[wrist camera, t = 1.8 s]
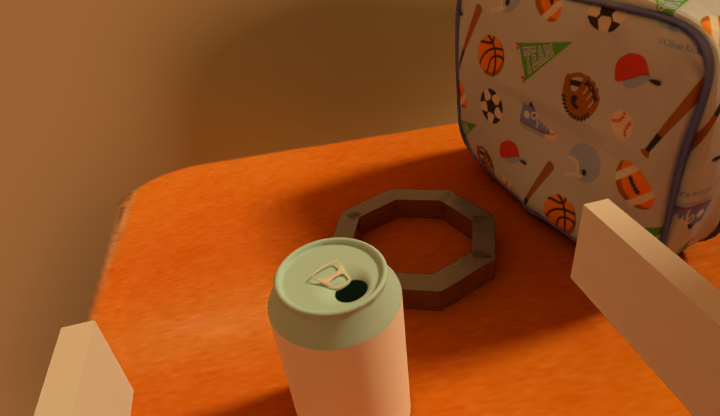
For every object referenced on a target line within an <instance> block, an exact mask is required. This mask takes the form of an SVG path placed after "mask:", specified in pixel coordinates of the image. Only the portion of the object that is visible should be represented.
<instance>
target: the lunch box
mask: <svg viewBox="0 0 720 416" xmlns="http://www.w3.org/2000/svg"><path fill="white" fill-rule="evenodd" d="M455 24H456V25H455V53H456V56H455V58H456V82H457V83H456V84H457V109H458V123H459V128H460V132H461V136H462V139H463V141H464V143H465V145H466V147H467V148H468V150H469V151H470V152H471V154H472V155H473V156H474V157H475V158H476V159H477V160H478V161H479V162H480V163H481V164H482V165H483V166H484V167H485V169H486V170H487V171H488V172H489V173H490V174H491V175H492V176H493V177H494V178H495V179H496V180H497V181H498V182H499V183H500V184H501V185H503V186H504V187H505V188H506V189H507V190H508V191H509V192H510V193H511V194H512V195H513V196H514V197H516V198H517V199H518V200H519V201H520V202H521V204H522V206H523V207H524V208H525V209H526V210H527V211H529V212H530V213H531V214H533V215H535V216H537V217H539V218H541V219H543V220H544V221H546V222H548V223H549V224H550V225H552V226H553V227H555V228H556V229H558V230H559V231H561V232H562V233H563V234H565V235H566V236H567V237H569V238H570V239H572V240H573V241H574V242H576V243H577V238H578V232H579V227H580V221H581V216H582V210H583V205H584V204H587V203H591V202H596V201H600V200H604V199H609V200H610V201H612V202H613V203H614V204H615V205H617V206H618V207H619V208H620V209H621V210H623V211H624V212H625V213H626V214H628V215H629V216H630V217H631V218H632V219H634V220H635V221H636V222H637V223H638V224H640V225H641V226H642V227H643V228H645V229H646V230H647V231H648V232H649V233H651V234H652V235H653V236H654V237H656V238H657V239H658V240H659V241H660V242H662V243H663V244H664V245H665V246H667V247H668V248H669V249H670V250H671V251H673V252H674V253H675V254H676V255H677V254H679V253H680V252H682V251H683V250H684V249H686V248H688V247H690V246H691V245H693V244H695V243H696V242H701V241H706V240H708V239H711V238H713V237H715V236H716V235H718V234H719V233H720V0H457V6H456V21H455Z"/></svg>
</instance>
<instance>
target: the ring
mask: <svg viewBox="0 0 720 416" xmlns="http://www.w3.org/2000/svg"><path fill="white" fill-rule="evenodd" d="M396 217H424V218H442V219H443V220H445V221H446V222H448V223H449V224H451V225H452V226H454V227H455V228H457V229H458V230H460V231H461V232H463V233H464V234H466V235H467V236H469V237H470V238H472V252H470V253H468V254H467V255H465V256H463V257H462V258H460V259H458V260H456V261H455V262H453V263H451V264H449V265H448V266H446V267H444V268H443V269H441V270H439V271H437V272H436V273H434V274H416V273H398V272H394V273H395V274H396V276H397V278H398V280H399V282H400V284H401V288H402V298H403V308H409V309H424V310H439V311H441V310H443V309H444V308H446V307H448V306H449V305H451V304H453V303H454V302H456V301H457V300H459V299H461V298H462V297H464V296H465V295H467V294H469V293H470V292H472V291H473V290H475V289H477V288H478V287H480V286H482V285H483V284H485V283H486V282H488V281H490V280H491V279H493V278H494V274H495V228H494V216H493V215H491V214H490V213H488V212H486V211H485V210H483V209H481V208H480V207H478V206H476V205H475V204H473V203H471V202H469V201H468V200H466V199H464V198H463V197H461V196H459V195H458V194H456V193H454V192H452V191H451V190H428V189H389V190H387V191H385V192H383V193H381V194H379V195H376V196H374V197H372V198H370V199H368V200H366V201H364V202H361V203H359V204H357V205H355V206H353V207H351V208H349V209H346V210H344V211H342V213H341V216H340V218H339V221H338V224H337V226H336V229H335V232H334V235H333V237H332V238H335V237H342V238H352V239H357V240H360V238H361V235H362V234H364V233H366V232H368V231H370V230H372V229H374V228H376V227H378V226H380V225H382V224H384V223H386V222H388V221H390V220H392V219H394V218H396Z"/></svg>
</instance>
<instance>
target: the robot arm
mask: <svg viewBox="0 0 720 416" xmlns="http://www.w3.org/2000/svg"><path fill="white" fill-rule="evenodd" d="M570 278H571V279H572V280H573V281H574V282H575V283H576V285H577V286H578V287H579V288H580V289H581V290H582V291H583V292H584V294H585V295H586V296H587V297H588V298H589V299H590V300H591V301H592V303H593V304H594V305H595V306H596V307H597V308H598V309H599V310H600V312H601V313H602V314H603V315H604V316H605V317H606V318H607V319H608V321H609V322H610V323H611V324H612V325H613V326H614V327H615V328H616V329H617V331H618V332H619V333H620V334H621V335H622V336H623V337H624V338H625V340H626V341H627V342H628V343H629V344H630V345H631V346H632V347H633V349H634V350H635V351H636V352H637V353H638V354H639V355H640V356H641V358H642V359H643V360H644V361H645V362H646V363H647V364H648V365H649V367H650V368H651V369H652V370H653V371H654V372H655V373H656V374H657V376H658V377H659V378H660V379H661V380H662V381H663V382H664V383H665V385H666V386H667V387H668V388H669V389H670V390H671V391H672V392H673V394H674V395H675V396H676V397H677V398H678V399H679V400H680V401H681V402H682V404H683V405H684V406H685V407H686V408H687V409H688V410H689V411H690V413H691V414H692V415H693V416H720V290H719V289H718V288H716V287H715V286H714V285H713V284H712V283H710V282H709V281H708V280H707V279H705V278H704V277H703V276H702V275H701V274H699V273H698V272H697V271H696V270H695V269H693V268H692V267H691V266H690V265H688V264H687V263H686V262H685V261H684V260H682V259H681V258H680V257H679V256H677V255H676V254H675V253H674V252H673V251H671V250H670V249H669V248H668V247H667V246H665V245H664V244H663V243H662V242H660V241H659V240H658V239H657V238H656V237H654V236H653V235H652V234H651V233H649V232H648V231H647V230H646V229H645V228H643V227H642V226H641V225H640V224H638V223H637V222H636V221H635V220H634V219H632V218H631V217H630V216H629V215H628V214H626V213H625V212H624V211H623V210H621V209H620V208H619V207H618V206H617V205H615V204H614V203H613V202H612V201H610V200H609V199H604V200H600V201H596V202H591V203H587V204H584V205H583V210H582V216H581V221H580V227H579V232H578V238H577V243H576V249H575V255H574V260H573V266H572V271H571V277H570ZM133 392H134V390H133V388H132V387H131V385H130V383H129V381H128V379H127V378H126V376H125V374H124V372H123V370H122V369H121V367H120V365H119V363H118V361H117V360H116V358H115V356H114V354H113V352H112V351H111V349H110V347H109V345H108V343H107V342H106V340H105V338H104V336H103V334H102V333H101V331H100V329H99V327H98V325H97V324H96V322H95V320H93V321H89V322H85V323H81V324H76V325H72V326H68V327H64V328H61V331H60V334H59V337H58V340H57V343H56V347H55V350H54V353H53V356H52V359H51V363H50V366H49V369H48V372H47V375H46V379H45V382H44V385H43V388H42V391H41V394H40V398H39V401H38V404H37V407H36V411H35V414H34V416H130V414H131V406H132V399H133Z"/></svg>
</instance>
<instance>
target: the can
mask: <svg viewBox="0 0 720 416" xmlns="http://www.w3.org/2000/svg"><path fill="white" fill-rule="evenodd" d="M268 315H269V319H270V323H271V326H272V330H273V333H274V337H275V340H276V344H277V347H278V351H279V354H280V357H281V361H282V364H283V368H284V371H285V375H286V378H287V382H288V385H289V389H290V392H291V396H292V399H293V403H294V406H295V410H296V413H297V416H409V415H410V392H409V379H408V365H407V352H406V338H405V325H404V312H403V298H402V288H401V284H400V282H399V280H398V278H397V276H396V274H395V273H394V271H393V270H392V269H391V268H390V267H389V266H388V265H387V263H386V260H385V258H384V257H383V255H382V254H381V253H380V252H379V251H378V250H377V249H376V248H375V247H373V246H372V245H370V244H368V243H366V242H363V241H360V240H357V239H352V238H342V237H335V238H326V239H321V240H317V241H314V242H311V243H308V244H306V245H304V246H302V247H300V248H298V249H296V250H295V251H293V252H292V253H291V254H290V255H288V256H287V257H286V258H285V259H284V260H283V261H282V263H281V264H280V265H279V267H278V269H277V271H276V274H275V277H274V287H273V289H272V291H271V293H270V296H269V301H268Z"/></svg>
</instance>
